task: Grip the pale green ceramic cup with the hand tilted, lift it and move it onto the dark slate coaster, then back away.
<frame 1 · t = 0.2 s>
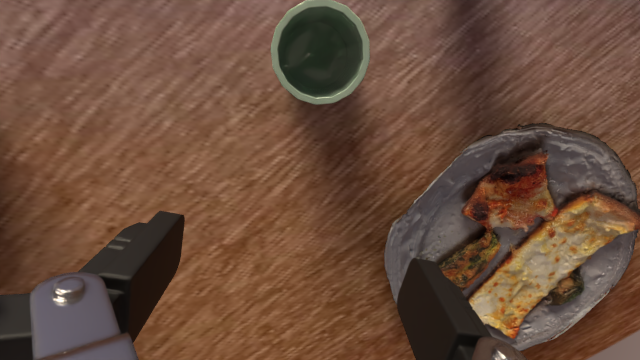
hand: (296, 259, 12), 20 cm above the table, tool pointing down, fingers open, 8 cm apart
food plate: (501, 241, 35), on the table
cup: (316, 56, 28), on the table
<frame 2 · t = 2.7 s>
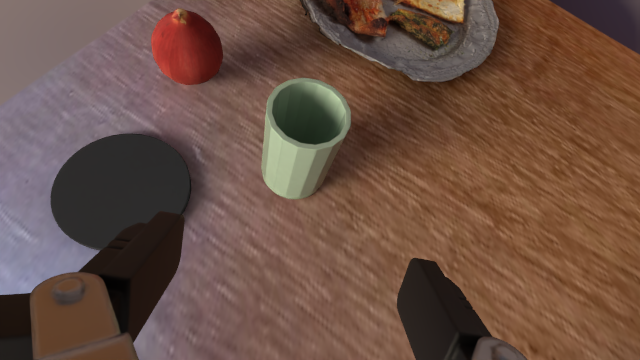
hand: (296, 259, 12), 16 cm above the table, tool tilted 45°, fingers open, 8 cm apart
food plate: (393, 12, 43), on the table
coaster: (125, 189, 27), on the table
cup: (293, 169, 31), on the table
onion: (194, 80, 33), on the table
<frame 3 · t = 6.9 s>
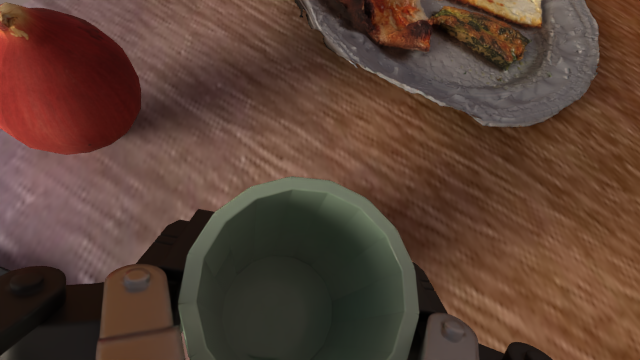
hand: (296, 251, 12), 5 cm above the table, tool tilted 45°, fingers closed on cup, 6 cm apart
food plate: (435, 12, 28), on the table
cup: (277, 311, 16), on the table, touching gripper
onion: (101, 134, 18), on the table
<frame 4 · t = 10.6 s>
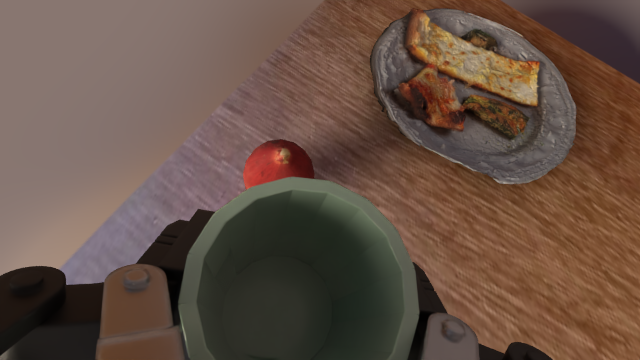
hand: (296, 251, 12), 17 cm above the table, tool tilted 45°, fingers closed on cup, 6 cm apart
food plate: (464, 95, 41), on the table
cup: (277, 311, 16), point 12 cm above the table, touching gripper
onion: (276, 193, 32), on the table
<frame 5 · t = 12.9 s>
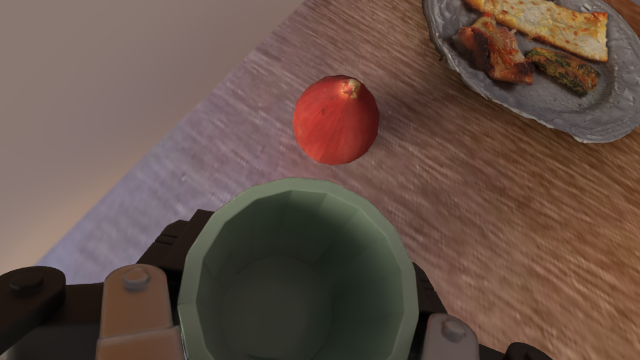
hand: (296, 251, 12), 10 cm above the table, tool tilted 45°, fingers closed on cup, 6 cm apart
food plate: (523, 49, 36), on the table
cup: (277, 311, 16), point 5 cm above the table, touching gripper
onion: (324, 149, 27), on the table
when the fingers open (6 cm above the table, at t = 14.7 s): cup stays where it is, resting on coaster.
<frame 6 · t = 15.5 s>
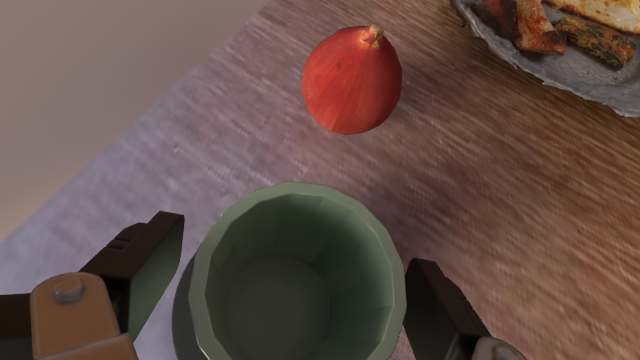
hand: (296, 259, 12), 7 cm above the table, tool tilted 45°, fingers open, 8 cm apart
food plate: (550, 21, 33), on the table
coaster: (276, 305, 18), on the table
cup: (278, 307, 17), resting on coaster
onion: (335, 121, 23), on the table
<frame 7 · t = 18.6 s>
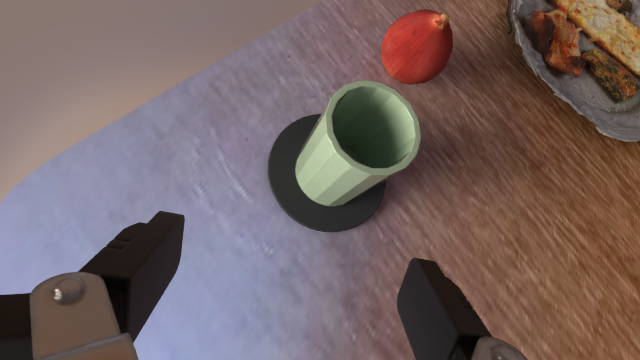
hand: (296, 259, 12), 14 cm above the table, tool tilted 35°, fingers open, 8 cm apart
food plate: (582, 49, 41), on the table
coaster: (328, 171, 28), on the table
cup: (330, 171, 28), resting on coaster
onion: (394, 74, 33), on the table
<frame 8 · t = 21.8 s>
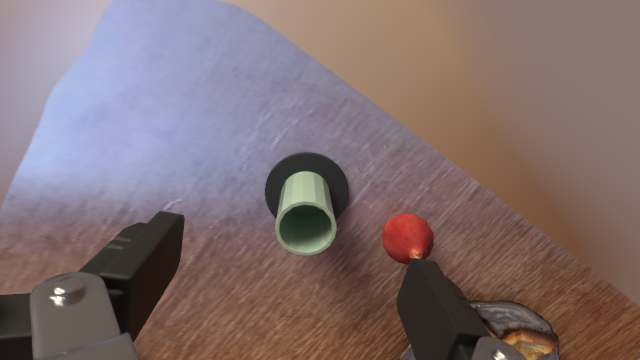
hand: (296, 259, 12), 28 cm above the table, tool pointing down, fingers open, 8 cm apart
food plate: (469, 359, 52), on the table
coaster: (306, 192, 41), on the table
cup: (305, 194, 41), resting on coaster
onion: (398, 223, 43), on the table
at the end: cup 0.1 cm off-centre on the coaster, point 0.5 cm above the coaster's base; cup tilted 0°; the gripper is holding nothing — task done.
